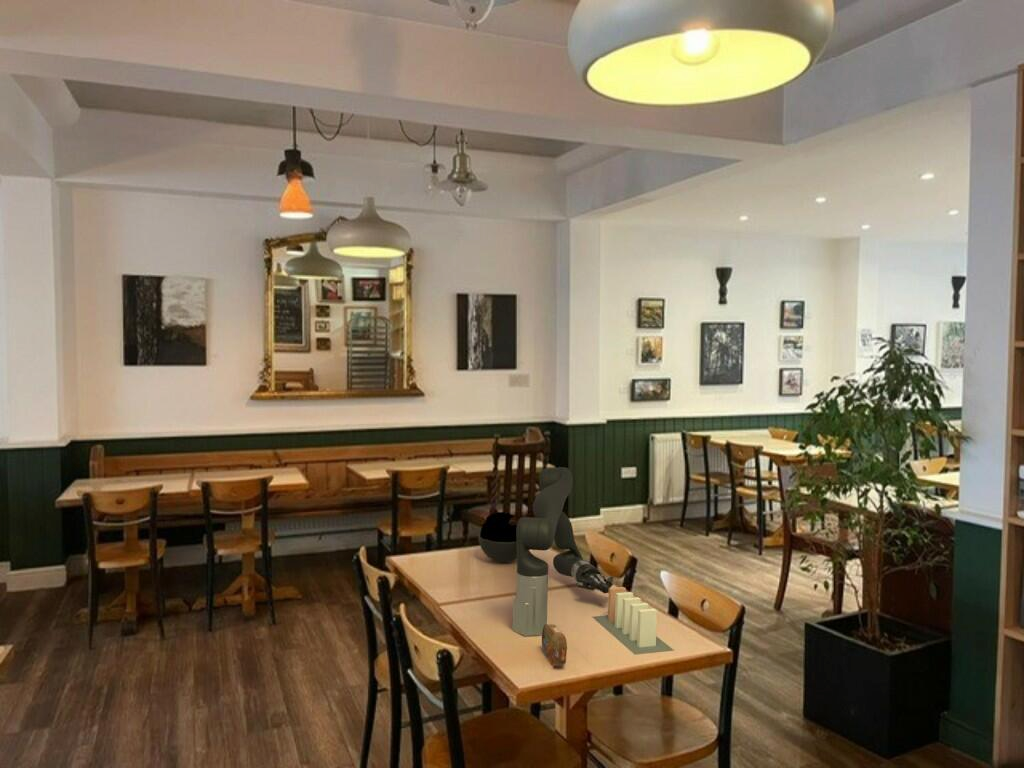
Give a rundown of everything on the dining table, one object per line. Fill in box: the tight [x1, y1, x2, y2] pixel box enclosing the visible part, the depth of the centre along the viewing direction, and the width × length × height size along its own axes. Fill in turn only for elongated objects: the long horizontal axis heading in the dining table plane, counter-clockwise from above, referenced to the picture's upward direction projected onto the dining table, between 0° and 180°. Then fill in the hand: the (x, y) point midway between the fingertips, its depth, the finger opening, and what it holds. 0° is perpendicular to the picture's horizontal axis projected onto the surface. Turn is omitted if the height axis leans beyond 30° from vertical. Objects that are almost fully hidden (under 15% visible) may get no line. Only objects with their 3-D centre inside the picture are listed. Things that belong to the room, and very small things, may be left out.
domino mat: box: [592, 614, 675, 655], centre depth 222 cm, size 30×12×1 cm, turn 17°
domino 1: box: [607, 586, 627, 622], centre depth 231 cm, size 2×5×10 cm, turn 107°
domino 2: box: [615, 591, 634, 628], centre depth 226 cm, size 2×5×10 cm, turn 107°
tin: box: [541, 623, 568, 668], centre depth 202 cm, size 15×3×8 cm, turn 14°
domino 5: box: [637, 608, 658, 647], centre depth 212 cm, size 2×5×10 cm, turn 107°
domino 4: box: [629, 602, 650, 641], centre depth 216 cm, size 2×5×10 cm, turn 107°
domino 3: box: [622, 596, 642, 634], centre depth 221 cm, size 2×5×10 cm, turn 107°
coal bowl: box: [477, 511, 517, 564], centre depth 294 cm, size 20×20×19 cm
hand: (606, 590), depth 238 cm, fingers closed
